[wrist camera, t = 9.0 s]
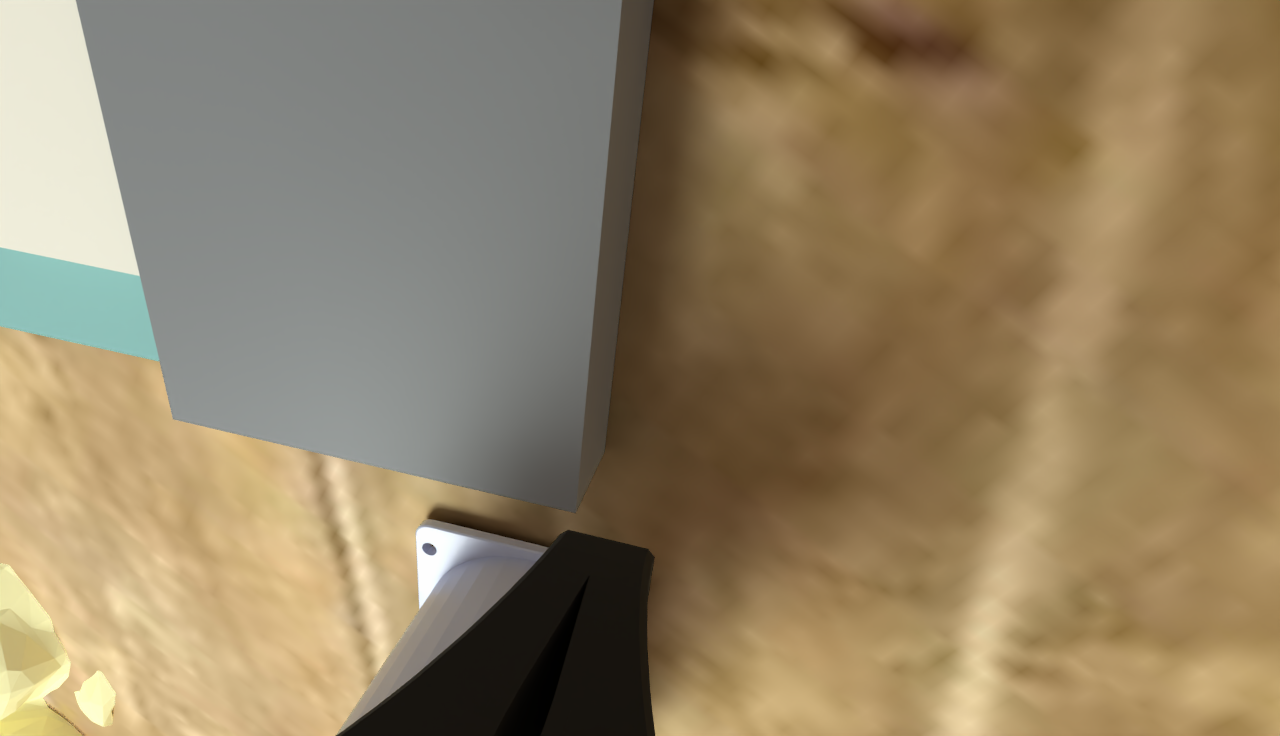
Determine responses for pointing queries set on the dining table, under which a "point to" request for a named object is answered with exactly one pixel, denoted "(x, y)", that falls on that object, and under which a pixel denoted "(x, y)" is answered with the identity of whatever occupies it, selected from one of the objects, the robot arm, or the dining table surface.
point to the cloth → (38, 668)
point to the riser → (384, 222)
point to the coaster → (56, 143)
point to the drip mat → (75, 303)
